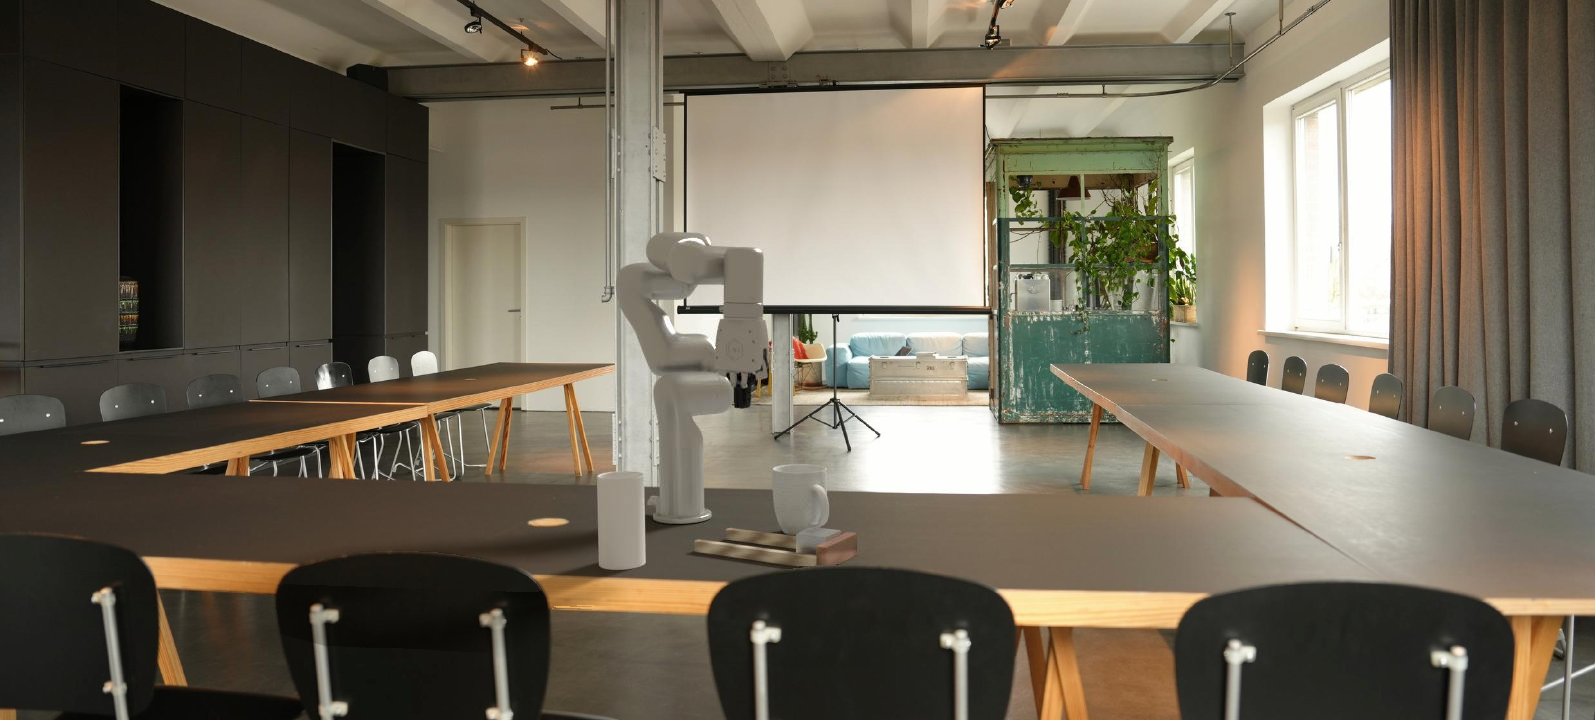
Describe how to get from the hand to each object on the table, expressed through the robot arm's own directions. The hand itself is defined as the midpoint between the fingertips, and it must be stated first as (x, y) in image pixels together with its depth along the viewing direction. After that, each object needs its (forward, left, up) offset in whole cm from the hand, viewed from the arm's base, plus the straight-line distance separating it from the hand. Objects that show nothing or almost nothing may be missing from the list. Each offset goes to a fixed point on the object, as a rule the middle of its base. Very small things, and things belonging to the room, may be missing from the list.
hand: (742, 407), depth 184 cm
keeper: (+18, -4, -27) cm, 32 cm away
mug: (+6, +12, -27) cm, 30 cm away
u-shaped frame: (+9, -4, -26) cm, 28 cm away
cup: (-11, -23, -27) cm, 37 cm away
